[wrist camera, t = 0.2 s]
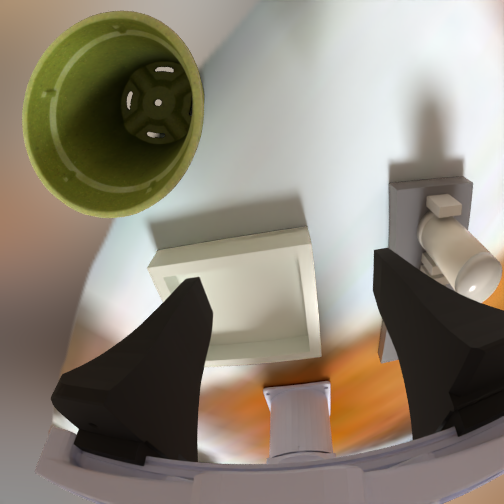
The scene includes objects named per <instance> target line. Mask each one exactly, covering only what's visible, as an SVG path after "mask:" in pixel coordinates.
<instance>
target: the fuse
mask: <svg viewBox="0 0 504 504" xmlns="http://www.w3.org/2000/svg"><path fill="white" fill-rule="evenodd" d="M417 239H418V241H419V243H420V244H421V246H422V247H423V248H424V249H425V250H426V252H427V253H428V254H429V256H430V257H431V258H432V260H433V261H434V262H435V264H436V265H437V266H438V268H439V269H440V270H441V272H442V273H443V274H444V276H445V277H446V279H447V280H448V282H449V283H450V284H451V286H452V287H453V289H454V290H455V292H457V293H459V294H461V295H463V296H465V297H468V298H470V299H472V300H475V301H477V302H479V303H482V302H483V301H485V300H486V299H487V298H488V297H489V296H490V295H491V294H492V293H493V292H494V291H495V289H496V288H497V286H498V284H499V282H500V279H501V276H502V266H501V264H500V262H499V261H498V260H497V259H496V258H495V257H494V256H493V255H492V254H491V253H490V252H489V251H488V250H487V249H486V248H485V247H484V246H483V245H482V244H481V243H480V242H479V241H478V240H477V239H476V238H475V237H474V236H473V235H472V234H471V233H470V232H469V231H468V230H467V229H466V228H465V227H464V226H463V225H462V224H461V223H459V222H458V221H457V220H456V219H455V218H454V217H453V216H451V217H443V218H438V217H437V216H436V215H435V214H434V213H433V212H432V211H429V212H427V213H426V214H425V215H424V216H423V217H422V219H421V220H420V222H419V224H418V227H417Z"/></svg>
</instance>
